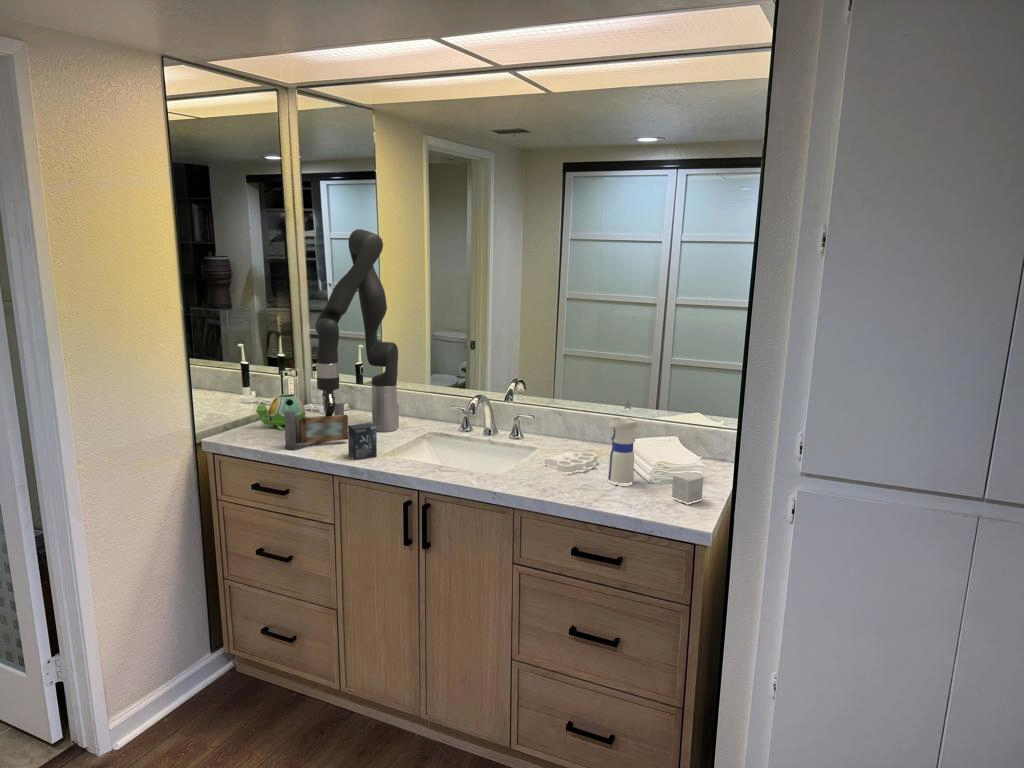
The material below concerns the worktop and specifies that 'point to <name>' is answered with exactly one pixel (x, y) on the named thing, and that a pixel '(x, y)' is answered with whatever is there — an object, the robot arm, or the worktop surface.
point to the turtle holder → (281, 410)
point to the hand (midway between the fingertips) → (329, 423)
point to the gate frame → (291, 432)
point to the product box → (687, 487)
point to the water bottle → (622, 449)
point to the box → (362, 441)
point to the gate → (321, 428)
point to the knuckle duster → (572, 461)
